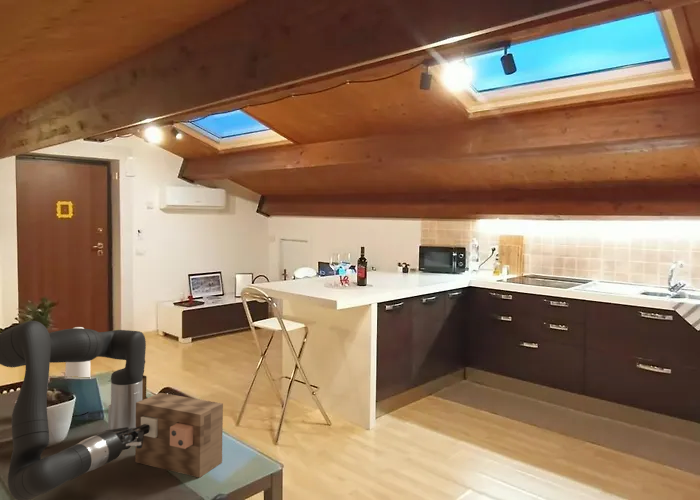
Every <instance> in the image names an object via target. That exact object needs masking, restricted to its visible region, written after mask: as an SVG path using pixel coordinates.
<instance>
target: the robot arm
mask: <svg viewBox="0 0 700 500" xmlns="http://www.w3.org/2000/svg"><path fill="white" fill-rule="evenodd" d="M146 343H147V341H146V337H145V335H144V333H143V332H142V331H138V330H130V329H128V330H127V329H116V330H110V331H109V330H108V331H101V332H100V331H97V330H95V329H90V328H84V329H82V328H75V327H73V328H66V329H61V330H60V329H59V330H56V331H51V332H49V331H48V329H47V327H46V326H45V325H44V324H43V323H42V322H40V321H36V320H29V321H26V322H23V323H21V324H18V325H15V326H13V327H10V328H9V329H6V330H3V331H2V332H0V365H1V366H3V367H7V368H18V367H22V366H23V367H24V366H25V372H24V378H23V382H22V385H21V388H20V390H19V393H18V396H17V398H16V401H15V404H14V407H13V410H12V414H11V435H12V437H11V438H12V448H13V449H12V453H11V457H10V464H9V468H8V475H7V486H8V490H9V493H10V495H11V496H12V498H13V499H14V500H32V499H35V498H38V497H39V496H42V495H45V494H46V493H49V492H51V491H53V490H54V489H56V488H58V487H60V486H62V485H64V484H65V483H67V482H68V481H71V480H74V479H76V478H78V477H80V476H82V475H84V474H86V473H88V472H92V471H94V470H96V469H98V468H100V467H102V466H105V465H106V464H108V463H111V462H113V461H114V460H116V459H118V458H119V457H120V455H121V453H122V452H123V451H124V450H129V449H130V448H131V447H135V448H136V447H137V448H142V445H143V441H144V435H145V434H147V433H149V425H147V424H143V425H141V426H139V427H137V428H136V402H139V401H141V400H142V383H143V380H142V379H143V375H144V374H143V372H145V365H146V347H147V344H146ZM97 357H101V358H108V359H112V360H118V361H119V360H120V361H121V360H122V361H125V365H124V367H123V368H120V369H117V370H114V371H113V372H112V373H111V375H110V404H109V405H108V407H107V408H108V413H107V415H108V417H107V418H108V419H107V420H108V421H107V423H108V424H107V429H106V430H104V431H102V432H99V433H97V434H94V435H92V436H90V437H87V438H85V439H83V440H81V441H80V442H78V443H76V444H74V445H71V446H69V447H67V448H65V449H62V450H60V451H59V452H58V453H57V452H56V453H55V454H51V455H48V456H46V457H44V458H41V457H42V453H43V451H44V450H46V448H47V447H48V446H49V443H50V431H49V430H50V429H49V420H48V419H49V418H48V408H47V407H48V403H47V402H48V387H49V385H48V384H49V377H50V376H49V375H50V364H51V363H52V364H53V363H55V364H57V363H66V362H86V361H90V362H91V361H92V360H94V359H96V358H97Z"/></svg>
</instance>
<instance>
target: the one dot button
mask: <svg viewBox="0 0 700 500" xmlns="http://www.w3.org/2000/svg"><path fill="white" fill-rule="evenodd" d="M143 424H147V425H149V433H147V434H145V435H144V436H148V437H153V438H156V437H158V418H154V417H149V416H142V417H141V425H143Z"/></svg>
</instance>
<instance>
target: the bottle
mask: <svg viewBox="0 0 700 500" xmlns="http://www.w3.org/2000/svg"><path fill="white" fill-rule="evenodd" d="M74 328H82V329H85V328H84V327H83V326H75V327H74ZM66 376H78V377H90V378H91V360H90V361H86V362H65V377H66Z"/></svg>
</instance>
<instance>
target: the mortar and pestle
mask: <svg viewBox="0 0 700 500" xmlns="http://www.w3.org/2000/svg"><path fill="white" fill-rule="evenodd" d="M144 372H145V371H144ZM144 372H143V379H142V380H143V383H142V400H144V399H146V398H148V397H147V378H148V377H147V375H144V374H145V373H144Z"/></svg>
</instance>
